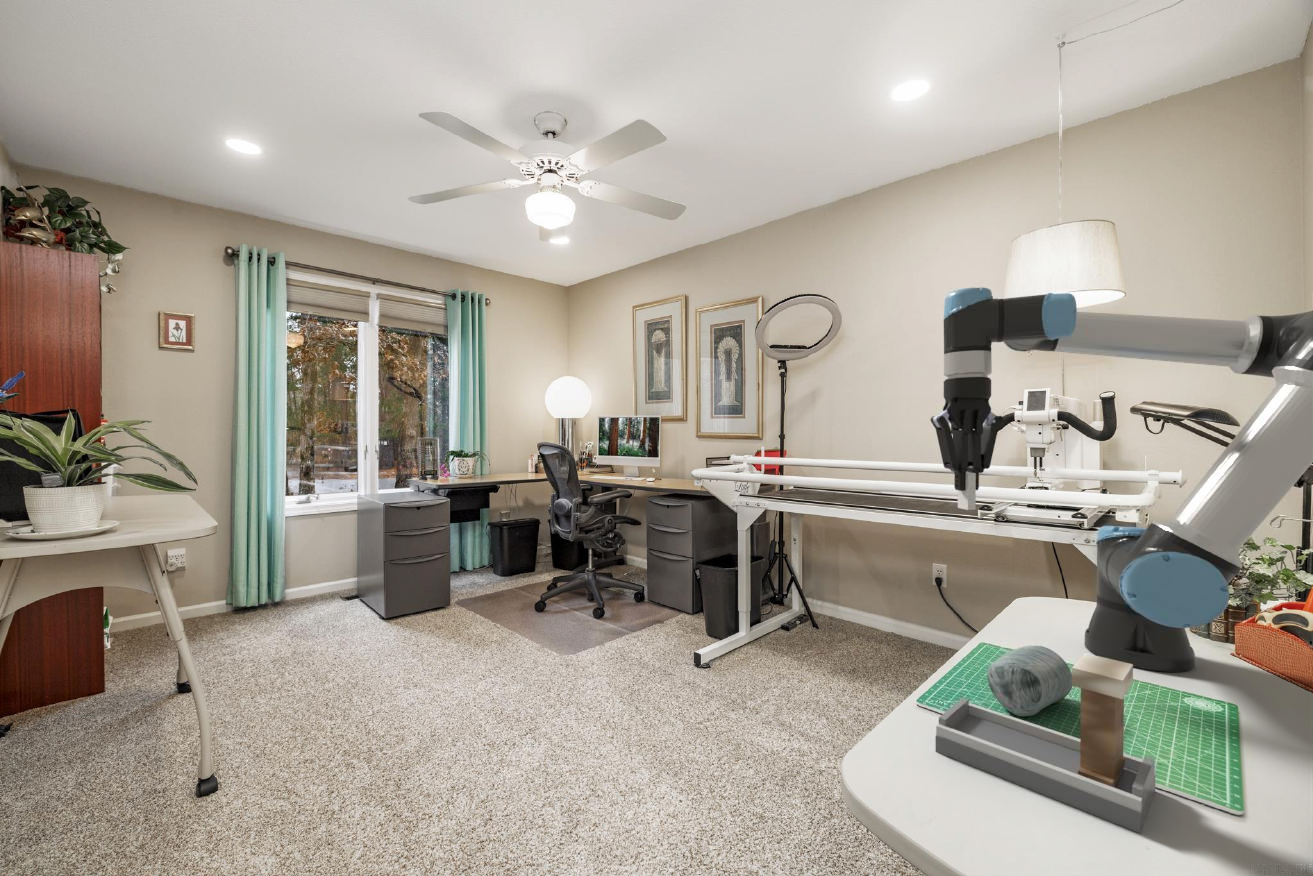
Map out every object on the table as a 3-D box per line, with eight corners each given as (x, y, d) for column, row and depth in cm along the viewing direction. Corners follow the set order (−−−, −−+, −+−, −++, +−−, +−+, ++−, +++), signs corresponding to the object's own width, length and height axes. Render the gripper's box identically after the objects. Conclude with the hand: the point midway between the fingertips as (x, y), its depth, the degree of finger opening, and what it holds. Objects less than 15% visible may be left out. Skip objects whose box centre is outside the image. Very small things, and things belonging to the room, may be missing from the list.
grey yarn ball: (1046, 713, 76) (1021, 634, 81) (981, 718, 83) (962, 645, 88) (1103, 716, 81) (1077, 642, 86) (1037, 720, 89) (1017, 652, 94)
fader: (1070, 776, 63) (1071, 669, 63) (1085, 752, 68) (1085, 651, 68) (1120, 795, 60) (1121, 681, 60) (1132, 768, 65) (1133, 663, 65)
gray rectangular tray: (935, 751, 73) (935, 720, 73) (965, 723, 79) (965, 695, 79) (1140, 833, 58) (1140, 794, 58) (1155, 790, 65) (1155, 755, 64)
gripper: (985, 379, 107) (984, 505, 108) (920, 378, 105) (920, 506, 106) (1015, 375, 100) (1015, 510, 100) (947, 375, 98) (946, 512, 98)
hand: (966, 508), depth 103 cm, fingers closed
